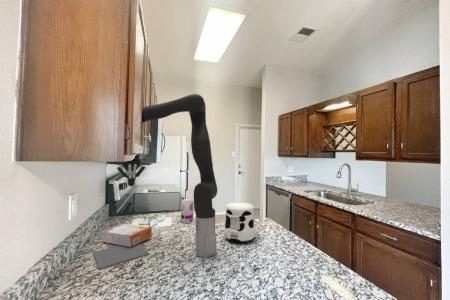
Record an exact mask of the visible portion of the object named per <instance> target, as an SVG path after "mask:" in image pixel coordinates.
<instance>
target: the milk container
mask: <svg viewBox="0 0 450 300" xmlns="http://www.w3.org/2000/svg"><path fill="white" fill-rule="evenodd" d="M254 209H255V208H254V204H252V203H249V202H241V201H240V202H239V201H238V202H235V201H234V202H230V203H227V204H226V205H225V221H224V222H225V223H224V227H223V232H224V233H223V234H224V236H225V238H226V239H227V240H229V241H232V242H234V243H235V242H236V243H247V242H250V241H252V240H253V239H255V236H256V231H257V229H256V225H255V210H254Z"/></svg>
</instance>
